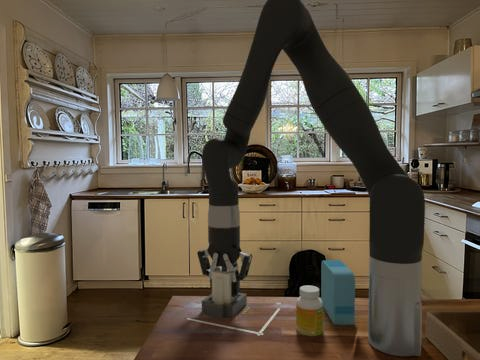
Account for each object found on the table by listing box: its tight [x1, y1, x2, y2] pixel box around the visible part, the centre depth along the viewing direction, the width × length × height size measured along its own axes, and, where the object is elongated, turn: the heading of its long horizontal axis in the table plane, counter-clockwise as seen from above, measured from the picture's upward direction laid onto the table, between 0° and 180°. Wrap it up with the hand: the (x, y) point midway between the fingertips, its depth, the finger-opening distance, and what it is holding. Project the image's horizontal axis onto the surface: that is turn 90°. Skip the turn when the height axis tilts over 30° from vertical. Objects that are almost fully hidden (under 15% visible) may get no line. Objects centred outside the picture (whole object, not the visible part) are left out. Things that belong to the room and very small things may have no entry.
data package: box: [320, 259, 356, 326], centre depth 80 cm, size 12×4×12 cm, turn 0°
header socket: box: [201, 292, 251, 319], centre depth 83 cm, size 10×9×2 cm
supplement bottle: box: [295, 285, 324, 337], centre depth 72 cm, size 5×5×10 cm
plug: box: [211, 266, 237, 305], centre depth 83 cm, size 4×6×10 cm
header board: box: [186, 307, 281, 337], centre depth 80 cm, size 18×14×1 cm
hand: (224, 294), depth 83 cm, fingers closed on plug, 4 cm apart
